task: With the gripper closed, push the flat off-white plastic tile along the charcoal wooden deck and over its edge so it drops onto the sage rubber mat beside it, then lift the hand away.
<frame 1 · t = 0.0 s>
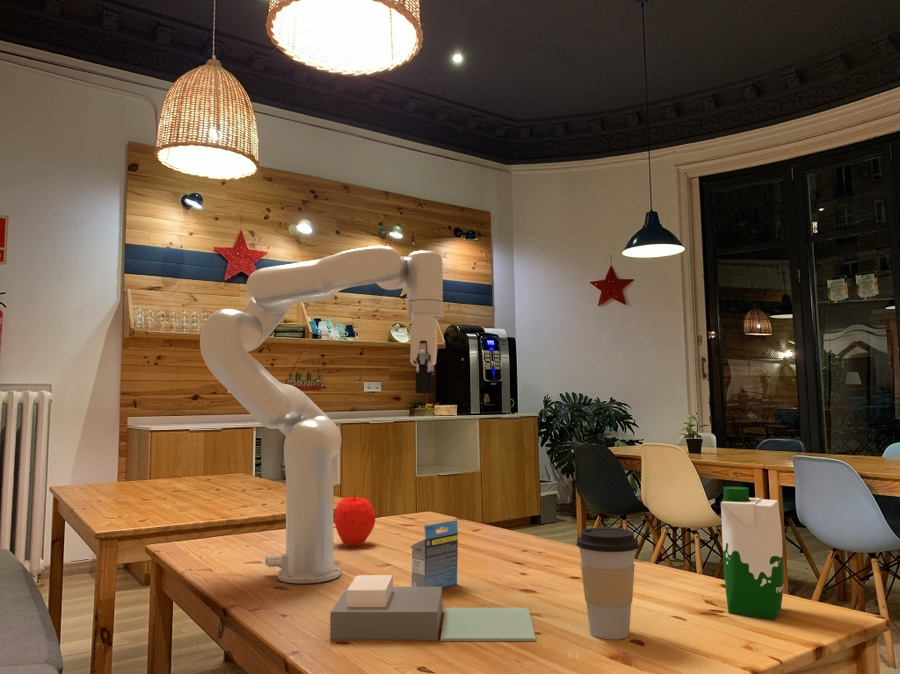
hand: (425, 393, 143), 37 cm above the table, tool pointing down, fingers open, 9 cm apart
label tape box: (435, 588, 132), on the table
tile: (370, 598, 111), point 4 cm above the table, touching deck
coffee cup: (610, 634, 105), on the table
mat: (487, 624, 110), on the table
deck: (389, 624, 110), on the table
milk carton: (755, 612, 115), on the table
apple: (354, 546, 170), on the table
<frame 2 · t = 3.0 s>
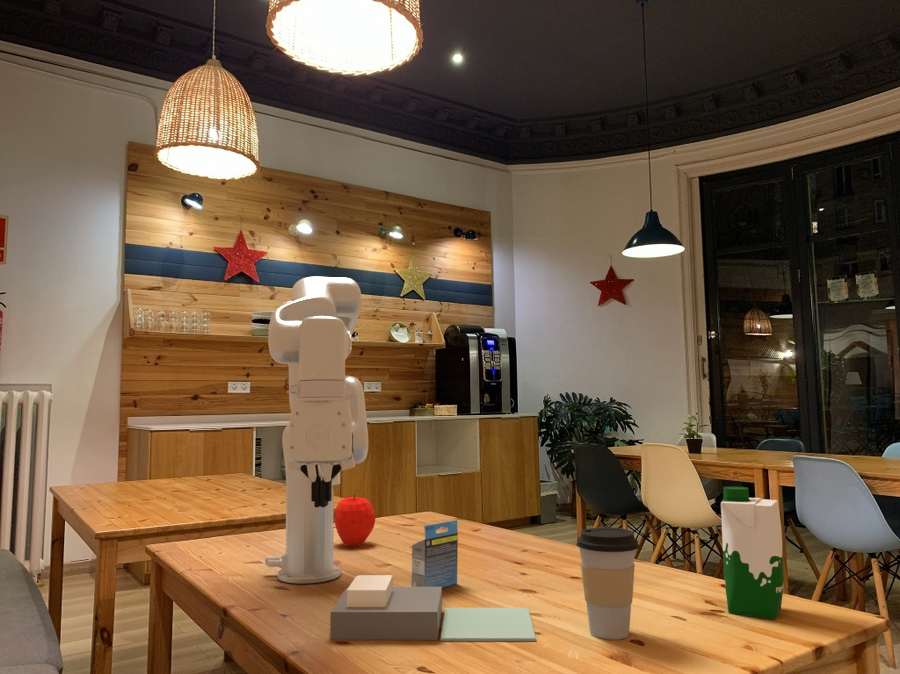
hand: (321, 505, 112), 19 cm above the table, tool pointing down, fingers closed
nothing on the table moved.
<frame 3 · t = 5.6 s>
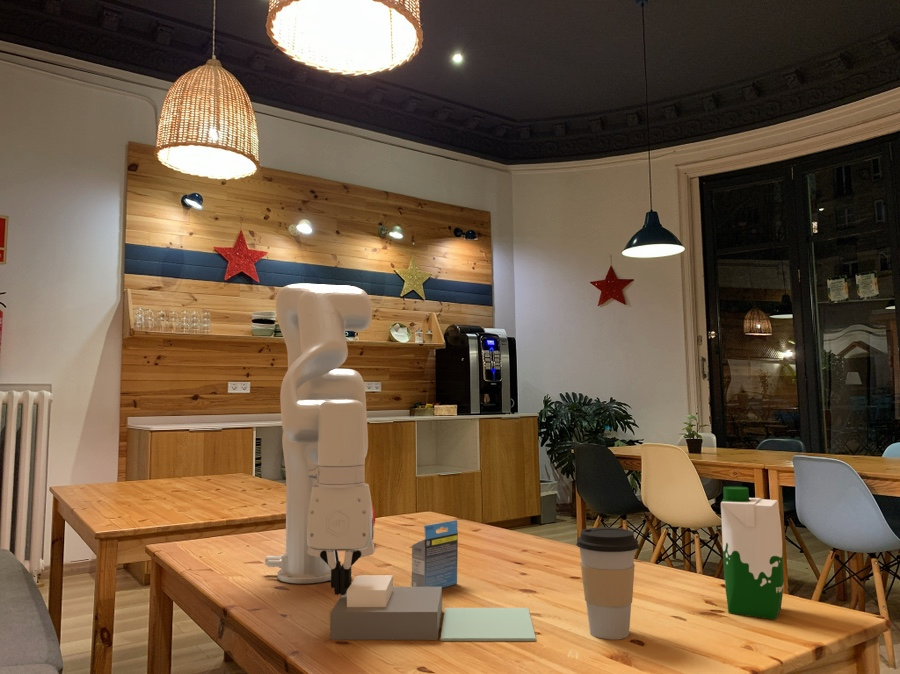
hand: (341, 592, 111), 5 cm above the table, tool pointing down, fingers closed
tile: (370, 598, 111), point 4 cm above the table, touching gripper
everything else where it was.
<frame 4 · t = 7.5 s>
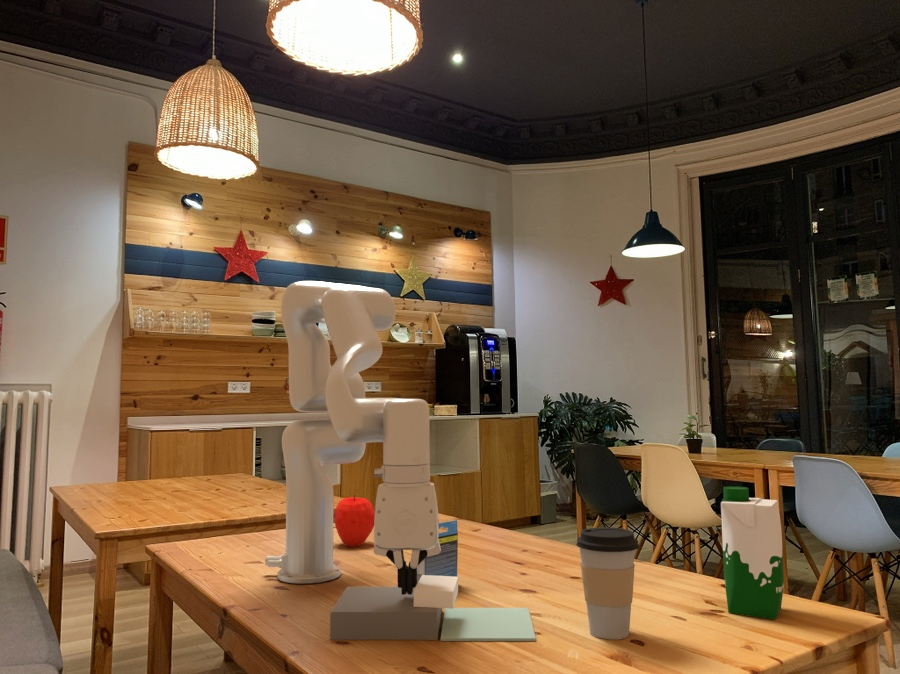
hand: (407, 592, 110), 5 cm above the table, tool pointing down, fingers closed
tile: (436, 599, 110), point 4 cm above the table, touching deck, gripper
everything else where it was.
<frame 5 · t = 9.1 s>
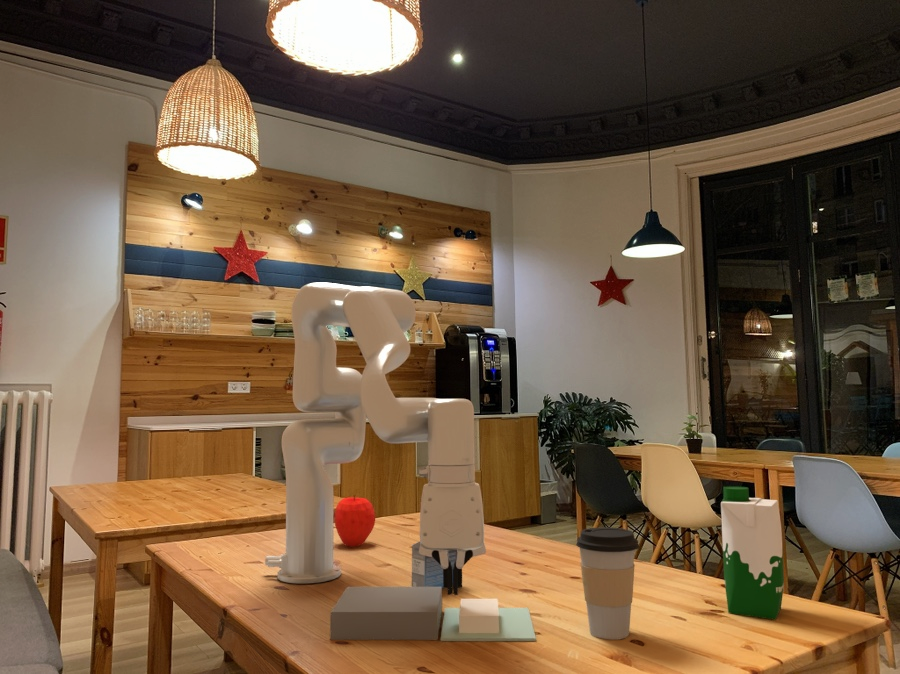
hand: (452, 592, 110), 5 cm above the table, tool pointing down, fingers closed
tile: (479, 606, 109), point 3 cm above the table, tilted 180°, touching mat
everything else where it was.
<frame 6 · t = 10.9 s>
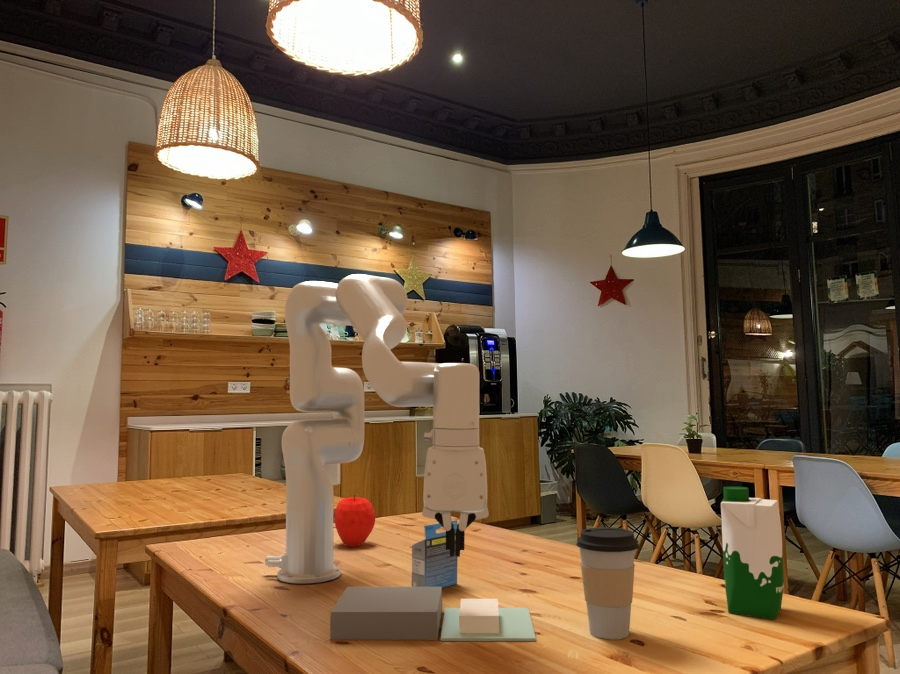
hand: (455, 554, 111), 11 cm above the table, tool pointing down, fingers closed
nothing on the table moved.
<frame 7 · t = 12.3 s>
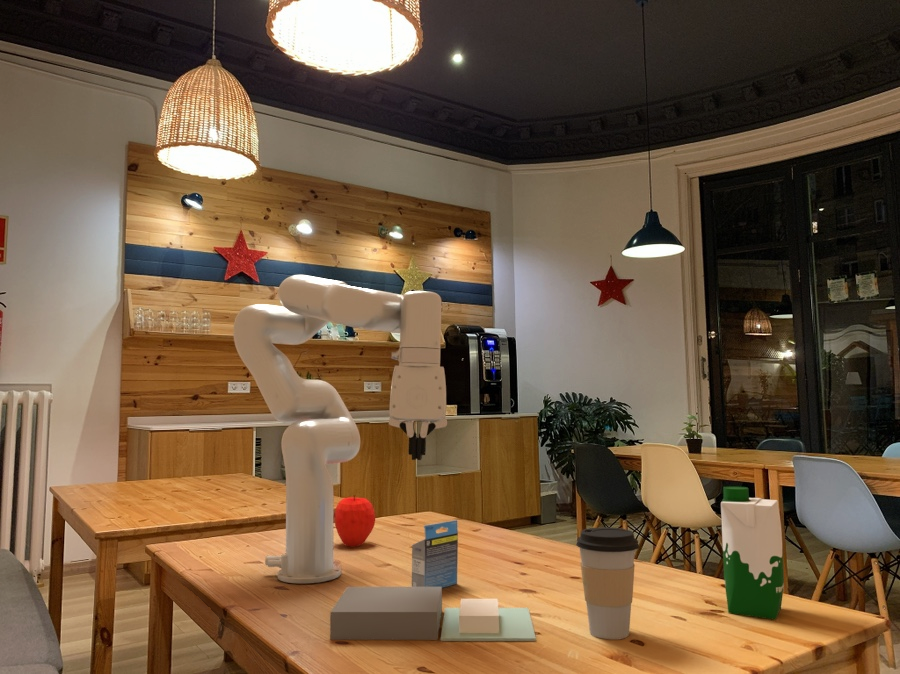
hand: (416, 458, 127), 25 cm above the table, tool pointing down, fingers closed
nothing on the table moved.
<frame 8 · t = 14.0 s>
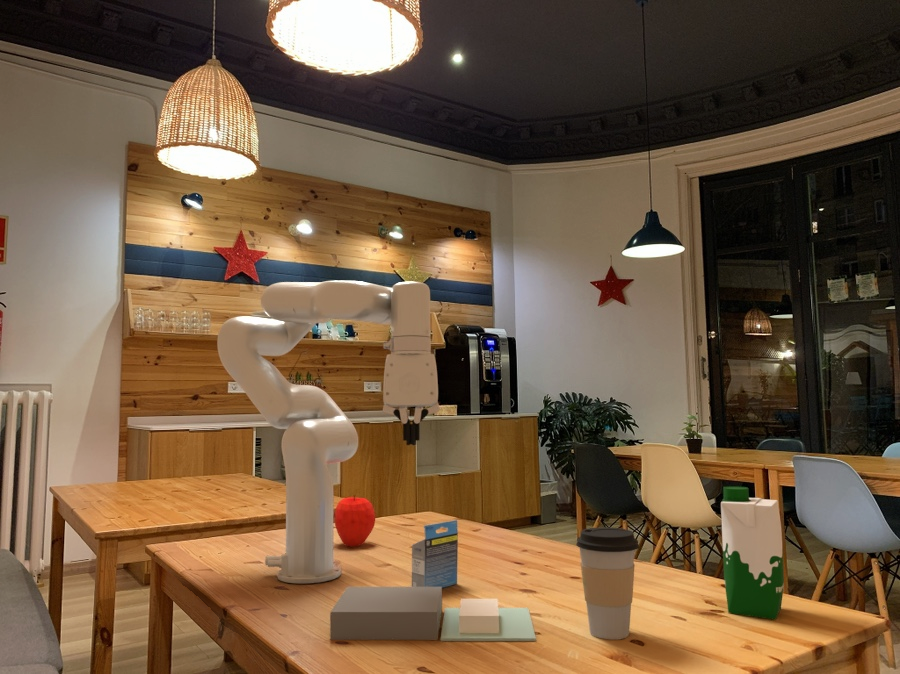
hand: (411, 444, 130), 27 cm above the table, tool pointing down, fingers closed
nothing on the table moved.
at the end: tile inside the target area (1.4 cm from its centre), point 2.9 cm above the table; tile touching mat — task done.
